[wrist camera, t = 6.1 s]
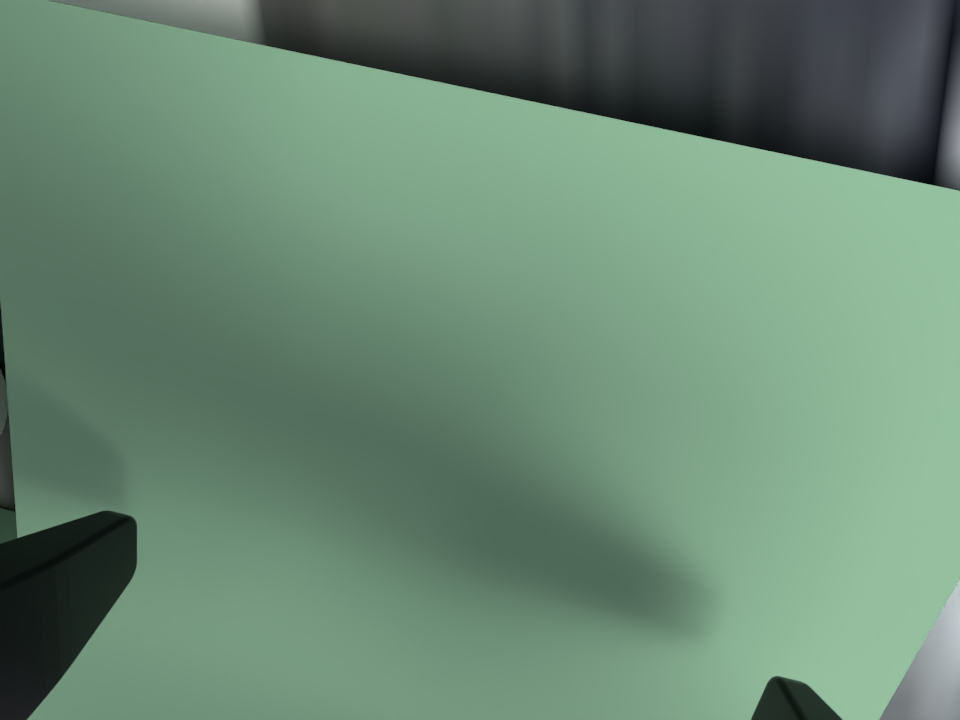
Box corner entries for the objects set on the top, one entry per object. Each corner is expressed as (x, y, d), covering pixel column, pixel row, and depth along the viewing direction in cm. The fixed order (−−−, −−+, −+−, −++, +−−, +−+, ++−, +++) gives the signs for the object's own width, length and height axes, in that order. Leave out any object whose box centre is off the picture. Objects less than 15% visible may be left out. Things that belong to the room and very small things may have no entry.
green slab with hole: (1028, 215, 9) (1478, 275, 4) (724, 825, 13) (804, 1148, 9) (-382, -81, 10) (-1107, -261, 5) (-224, 576, 14) (-559, 758, 10)
